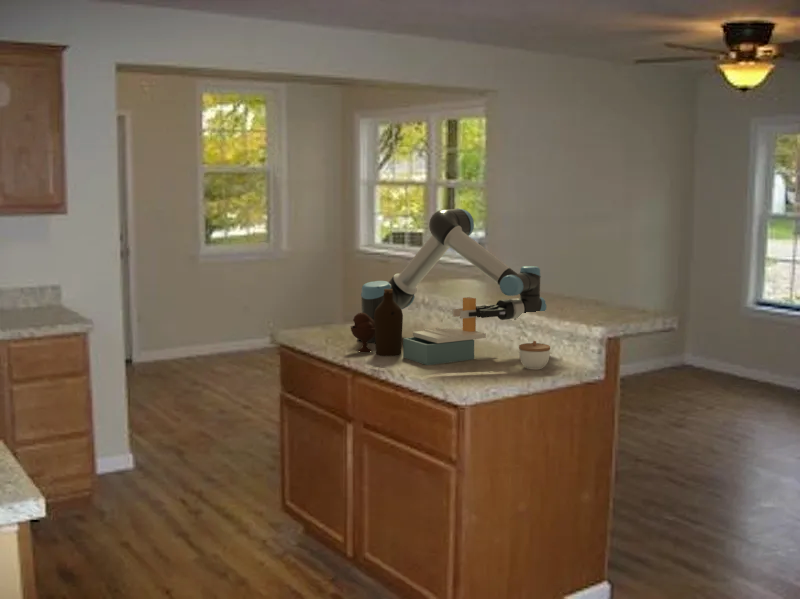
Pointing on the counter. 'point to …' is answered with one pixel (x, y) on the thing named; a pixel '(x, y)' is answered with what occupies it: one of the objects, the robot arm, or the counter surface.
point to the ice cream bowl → (363, 330)
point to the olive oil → (388, 326)
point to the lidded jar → (534, 355)
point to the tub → (437, 351)
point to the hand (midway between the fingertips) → (456, 313)
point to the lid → (454, 333)
